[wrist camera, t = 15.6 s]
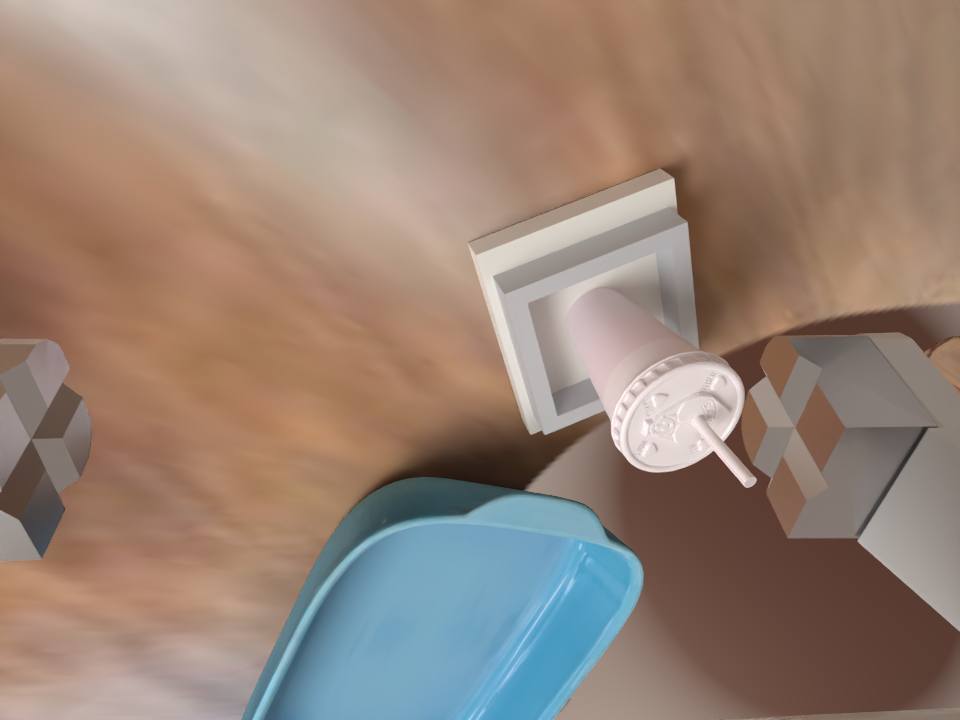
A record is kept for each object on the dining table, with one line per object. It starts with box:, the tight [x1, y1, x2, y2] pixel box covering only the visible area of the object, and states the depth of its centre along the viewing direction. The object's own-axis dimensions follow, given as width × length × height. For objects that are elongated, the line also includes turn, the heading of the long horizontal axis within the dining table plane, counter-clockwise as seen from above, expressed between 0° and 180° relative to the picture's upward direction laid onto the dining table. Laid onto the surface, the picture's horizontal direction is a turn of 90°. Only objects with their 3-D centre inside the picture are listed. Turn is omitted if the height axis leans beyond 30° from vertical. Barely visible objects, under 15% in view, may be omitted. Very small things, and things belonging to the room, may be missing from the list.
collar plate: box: [468, 169, 699, 435], centre depth 40 cm, size 11×13×4 cm
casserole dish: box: [242, 477, 644, 720], centre depth 51 cm, size 37×22×7 cm, turn 154°
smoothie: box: [566, 288, 756, 488], centre depth 35 cm, size 6×6×14 cm
